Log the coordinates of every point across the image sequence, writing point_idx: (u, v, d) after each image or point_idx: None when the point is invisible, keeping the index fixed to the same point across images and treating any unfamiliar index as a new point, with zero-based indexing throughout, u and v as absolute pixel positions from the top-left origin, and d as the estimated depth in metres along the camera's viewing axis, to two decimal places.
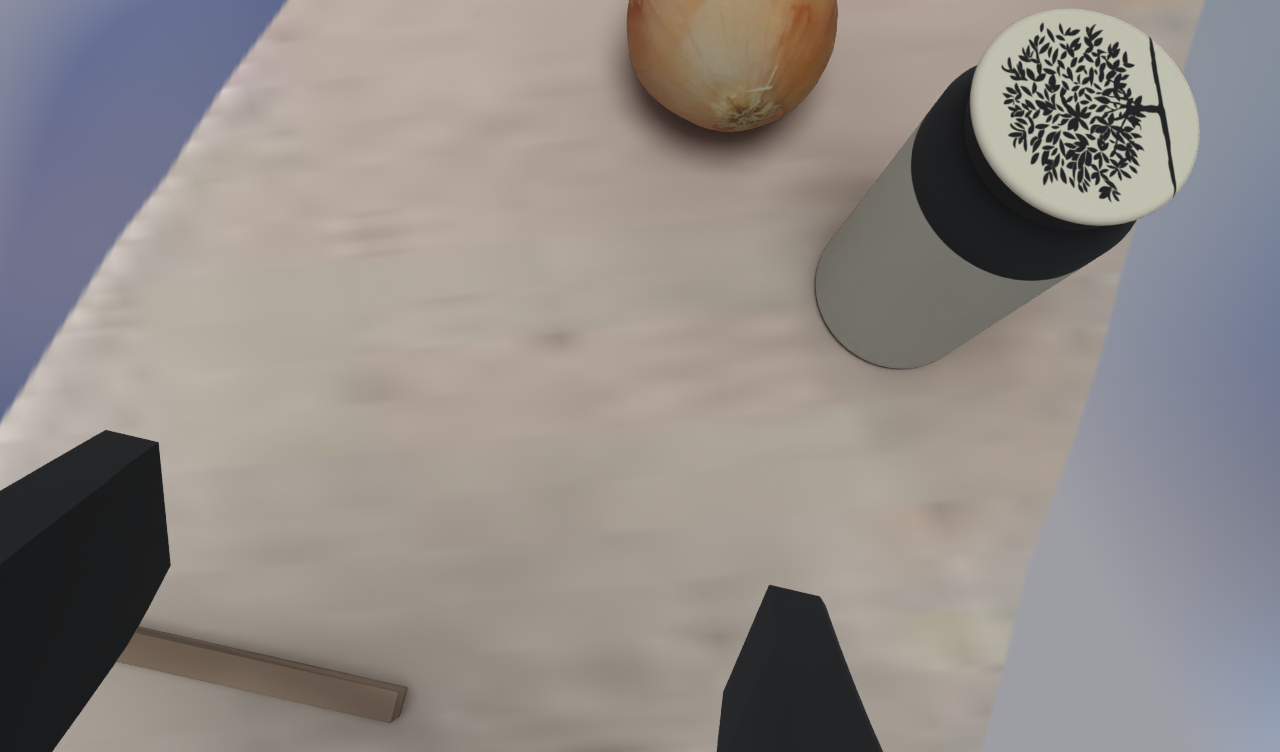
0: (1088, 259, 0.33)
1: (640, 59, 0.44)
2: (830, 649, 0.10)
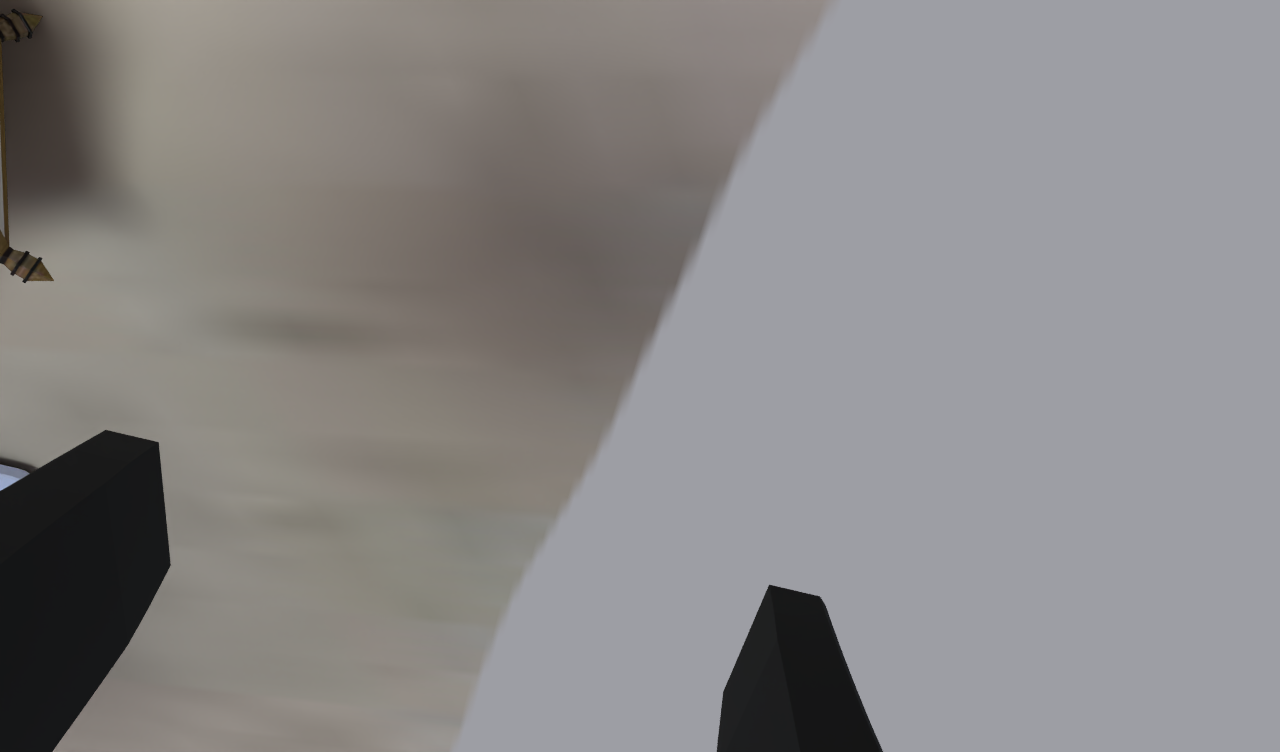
0: None
1: None
2: (830, 648, 0.10)
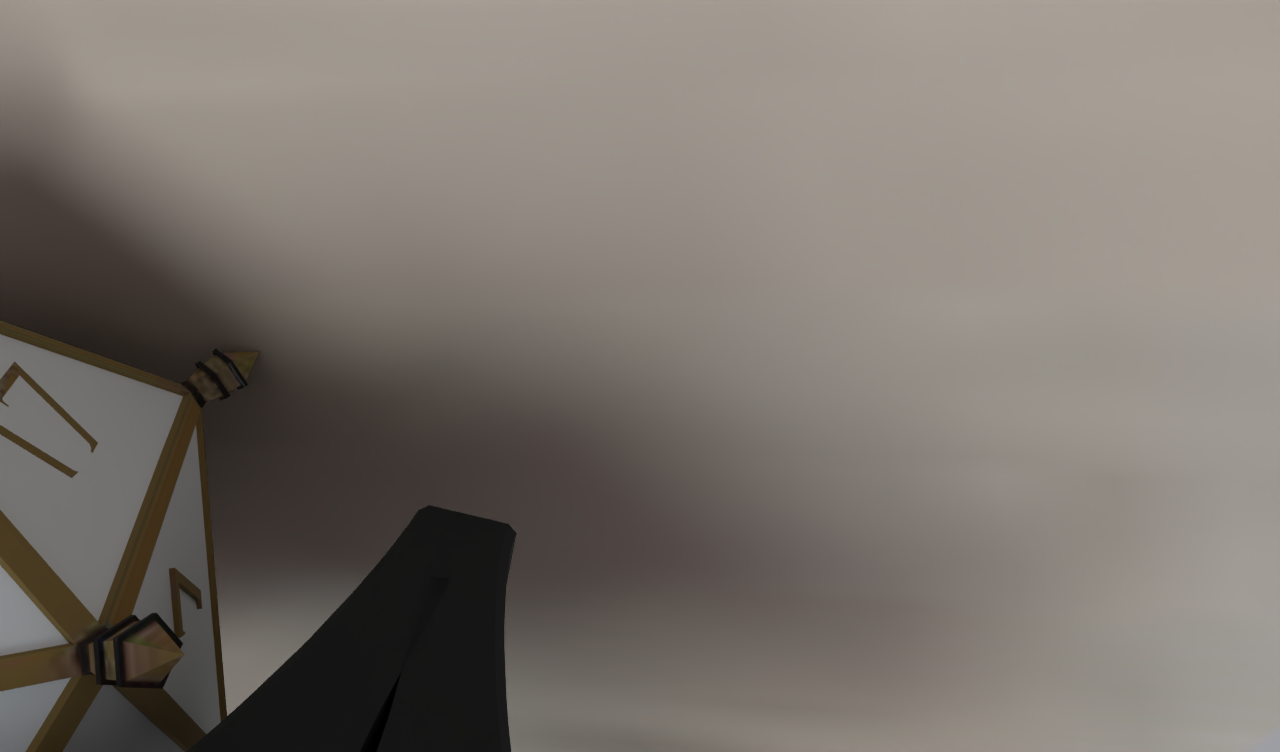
0: None
1: None
2: (489, 570, 0.10)
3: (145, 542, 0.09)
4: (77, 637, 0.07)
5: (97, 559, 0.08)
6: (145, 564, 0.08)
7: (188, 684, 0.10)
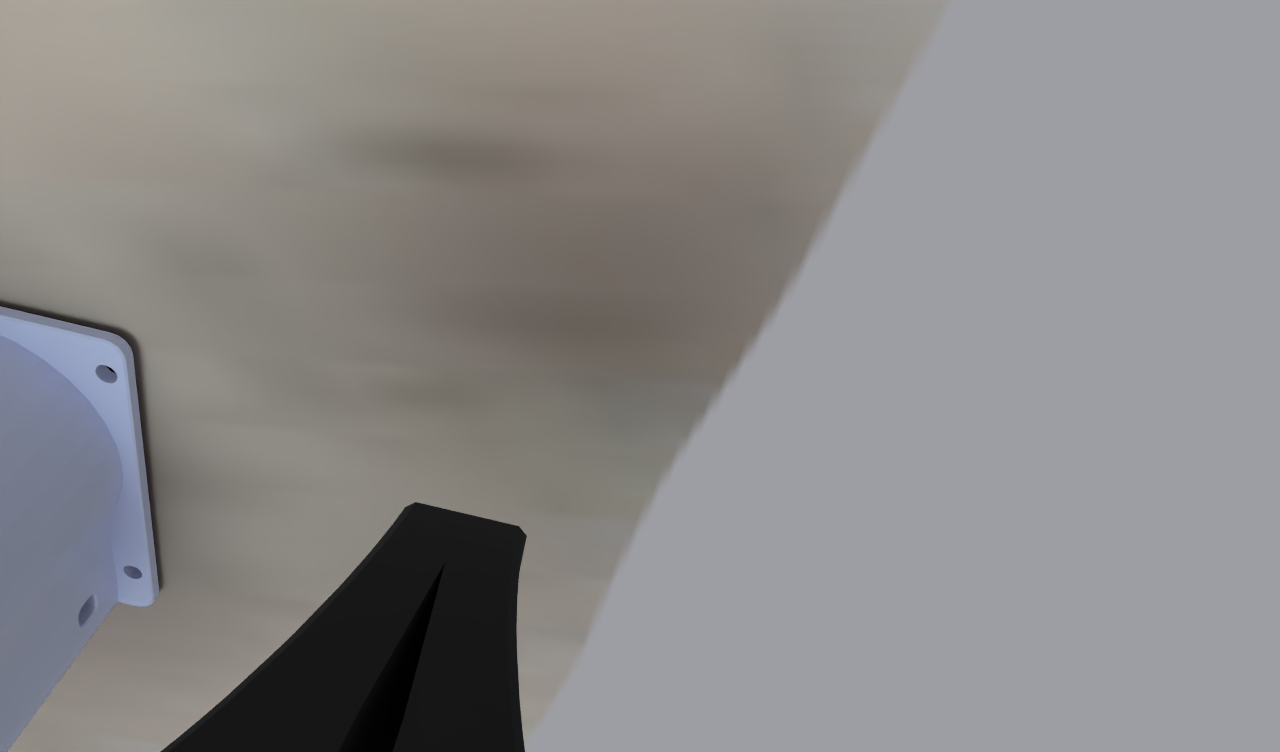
0: None
1: None
2: (501, 573, 0.10)
3: None
4: None
5: None
6: None
7: None
